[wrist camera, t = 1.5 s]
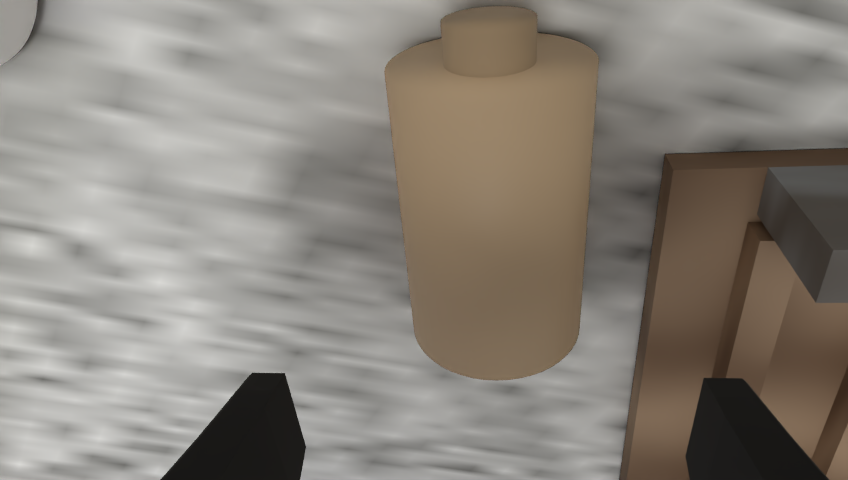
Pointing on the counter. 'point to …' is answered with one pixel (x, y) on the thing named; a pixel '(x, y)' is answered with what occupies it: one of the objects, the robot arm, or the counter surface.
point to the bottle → (494, 189)
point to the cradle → (745, 302)
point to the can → (15, 26)
